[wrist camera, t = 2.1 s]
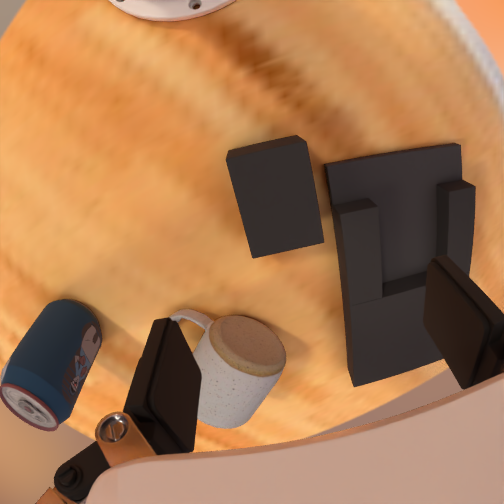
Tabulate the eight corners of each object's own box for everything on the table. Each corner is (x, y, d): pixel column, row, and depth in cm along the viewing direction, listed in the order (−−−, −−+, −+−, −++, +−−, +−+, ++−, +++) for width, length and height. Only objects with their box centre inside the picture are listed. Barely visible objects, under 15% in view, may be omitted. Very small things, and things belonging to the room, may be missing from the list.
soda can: (38, 311, 28) (-16, 391, 18) (70, 281, 27) (7, 371, 16) (82, 354, 31) (43, 439, 20) (119, 331, 29) (79, 429, 19)
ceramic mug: (288, 324, 29) (298, 388, 22) (251, 378, 32) (252, 438, 25) (177, 283, 27) (156, 344, 20) (154, 346, 30) (136, 405, 23)
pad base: (323, 163, 23) (333, 172, 20) (455, 143, 22) (475, 149, 19) (347, 368, 32) (353, 387, 30) (443, 339, 31) (453, 354, 29)
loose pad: (228, 150, 22) (225, 159, 19) (297, 134, 22) (306, 140, 18) (251, 237, 25) (252, 258, 22) (314, 223, 25) (324, 242, 22)
